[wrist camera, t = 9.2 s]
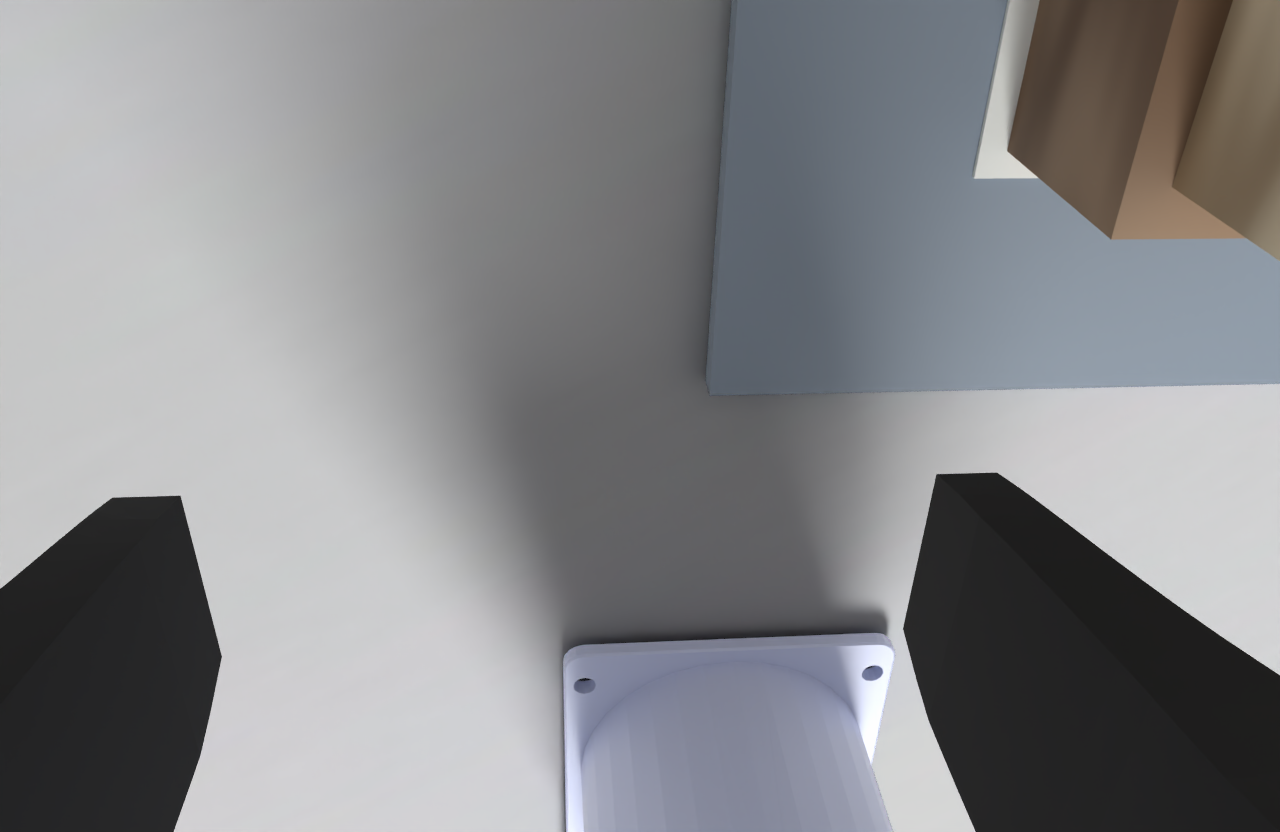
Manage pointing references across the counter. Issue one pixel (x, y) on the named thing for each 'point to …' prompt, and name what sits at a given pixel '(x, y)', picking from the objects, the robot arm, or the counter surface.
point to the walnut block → (1119, 110)
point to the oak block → (1240, 128)
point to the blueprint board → (939, 225)
